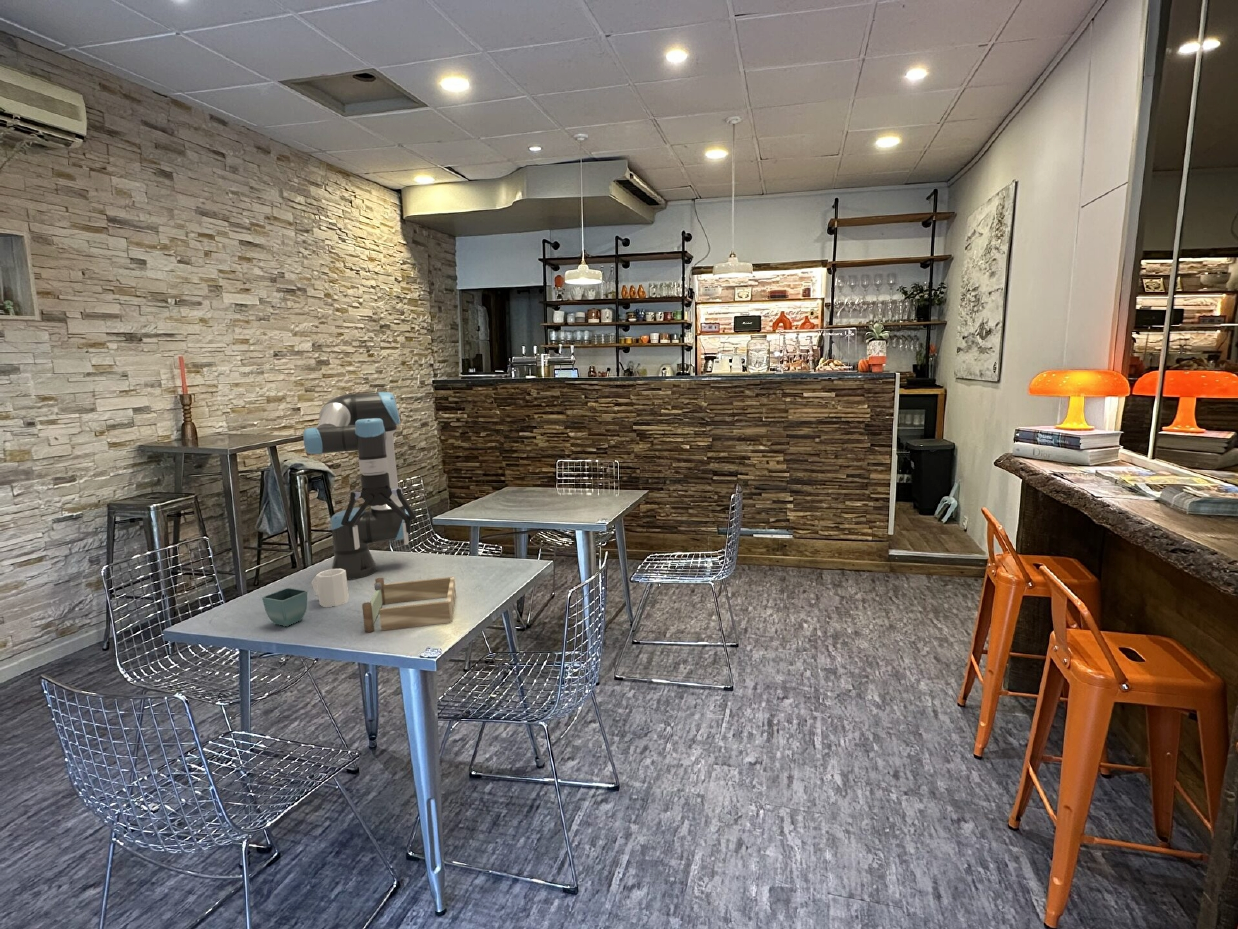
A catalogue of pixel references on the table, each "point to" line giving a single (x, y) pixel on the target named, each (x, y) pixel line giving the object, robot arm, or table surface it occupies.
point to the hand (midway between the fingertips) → (382, 546)
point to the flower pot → (286, 606)
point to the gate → (376, 600)
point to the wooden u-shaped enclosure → (413, 613)
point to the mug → (331, 587)
